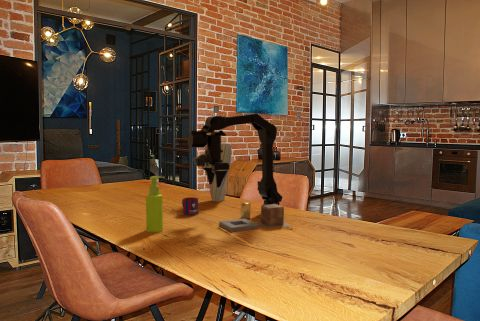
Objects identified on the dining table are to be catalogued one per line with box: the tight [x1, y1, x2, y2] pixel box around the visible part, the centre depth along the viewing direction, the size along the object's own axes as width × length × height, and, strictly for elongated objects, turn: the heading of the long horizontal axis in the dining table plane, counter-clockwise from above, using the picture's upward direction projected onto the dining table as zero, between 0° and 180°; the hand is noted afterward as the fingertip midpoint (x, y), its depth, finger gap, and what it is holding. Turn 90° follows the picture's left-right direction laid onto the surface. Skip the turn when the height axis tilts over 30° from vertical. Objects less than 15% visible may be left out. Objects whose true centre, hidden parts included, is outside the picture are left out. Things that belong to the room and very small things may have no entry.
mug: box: [181, 196, 199, 216], centre depth 172 cm, size 7×10×7 cm
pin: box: [240, 201, 251, 220], centre depth 160 cm, size 4×4×7 cm
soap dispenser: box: [145, 175, 164, 234], centre depth 142 cm, size 6×7×20 cm
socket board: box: [218, 218, 259, 234], centre depth 146 cm, size 11×11×2 cm
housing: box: [260, 204, 285, 226], centre depth 151 cm, size 6×6×7 cm
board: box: [253, 220, 292, 229], centre depth 151 cm, size 11×11×6 cm
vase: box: [204, 142, 232, 203], centre depth 203 cm, size 14×14×30 cm
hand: (214, 185), depth 157 cm, fingers open, 9 cm apart
